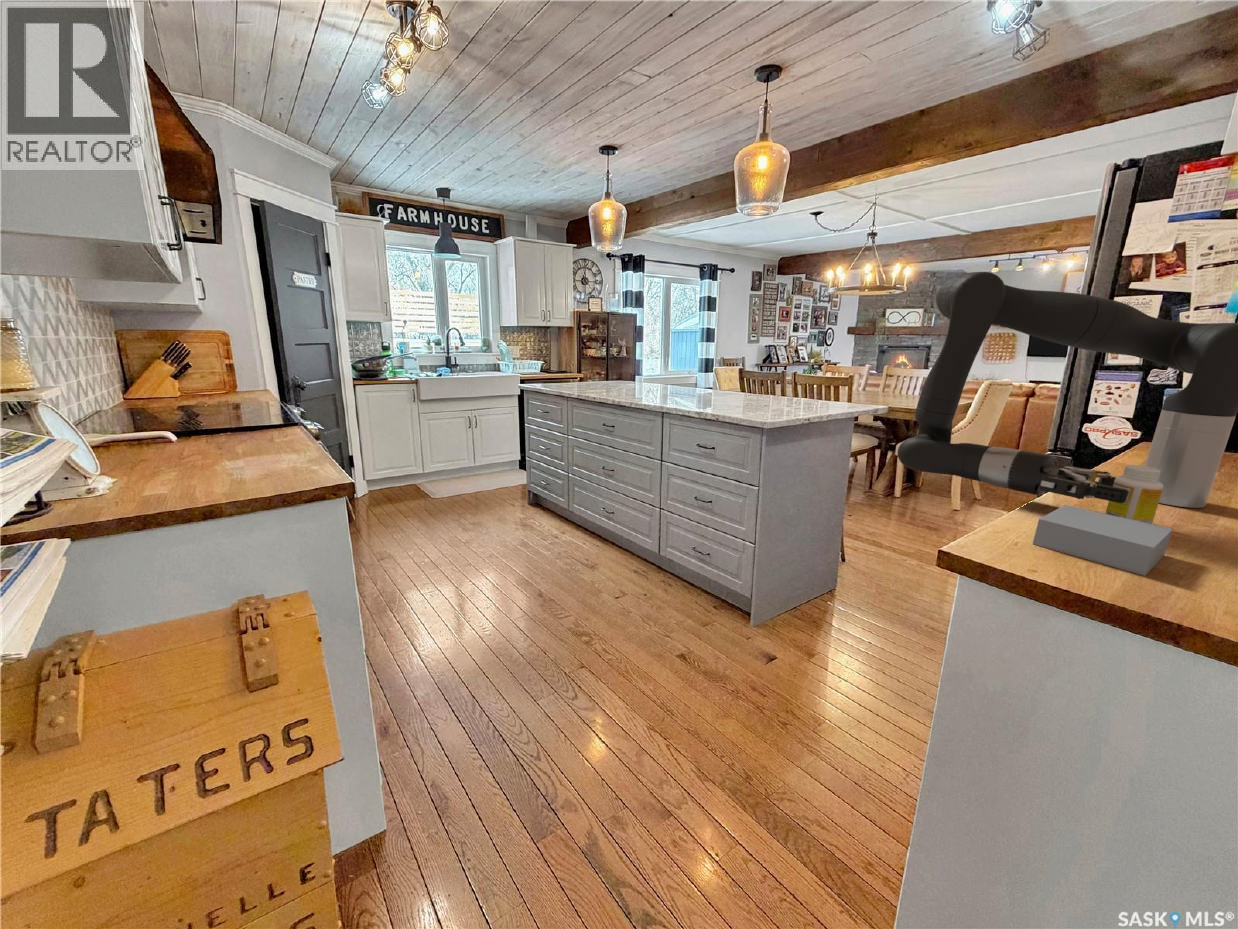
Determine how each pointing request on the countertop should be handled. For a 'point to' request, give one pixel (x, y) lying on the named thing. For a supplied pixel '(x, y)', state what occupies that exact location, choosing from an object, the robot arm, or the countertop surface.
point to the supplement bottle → (1137, 494)
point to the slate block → (1103, 538)
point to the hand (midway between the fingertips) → (1133, 492)
